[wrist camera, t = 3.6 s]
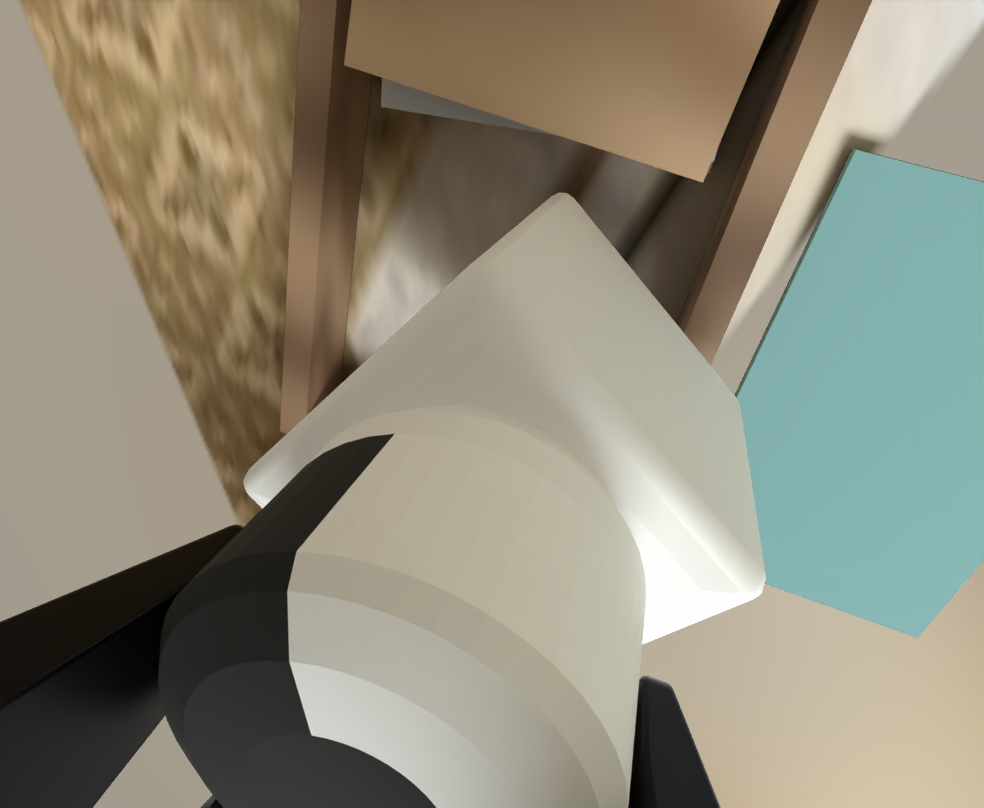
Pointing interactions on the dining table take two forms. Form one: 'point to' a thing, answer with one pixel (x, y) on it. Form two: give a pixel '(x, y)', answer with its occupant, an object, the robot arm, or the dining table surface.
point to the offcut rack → (339, 163)
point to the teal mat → (875, 399)
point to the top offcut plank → (577, 66)
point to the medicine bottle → (471, 550)
